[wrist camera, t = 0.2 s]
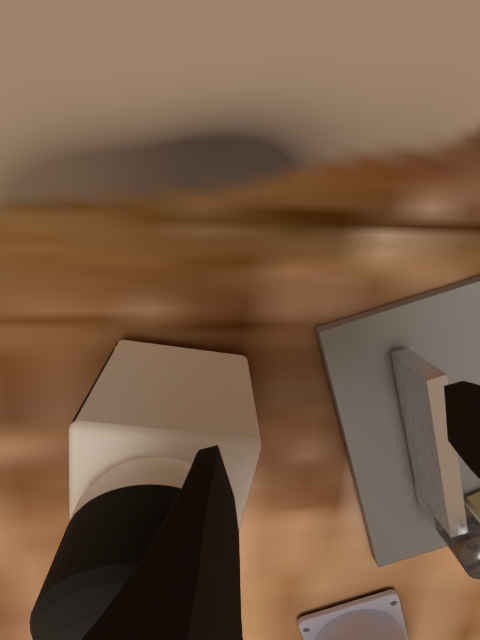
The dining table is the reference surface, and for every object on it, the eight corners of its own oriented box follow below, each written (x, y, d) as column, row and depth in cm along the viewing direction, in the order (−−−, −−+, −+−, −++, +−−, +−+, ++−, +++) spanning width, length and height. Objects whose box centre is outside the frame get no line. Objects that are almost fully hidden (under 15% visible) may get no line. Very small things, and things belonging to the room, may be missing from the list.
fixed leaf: (455, 508, 24) (521, 587, 19) (419, 519, 24) (475, 601, 19) (431, 336, 20) (506, 379, 15) (388, 350, 20) (448, 397, 15)
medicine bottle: (117, 336, 19) (-21, 573, 8) (248, 353, 20) (289, 588, 9) (112, 440, 22) (3, 724, 11) (227, 451, 22) (237, 723, 11)
